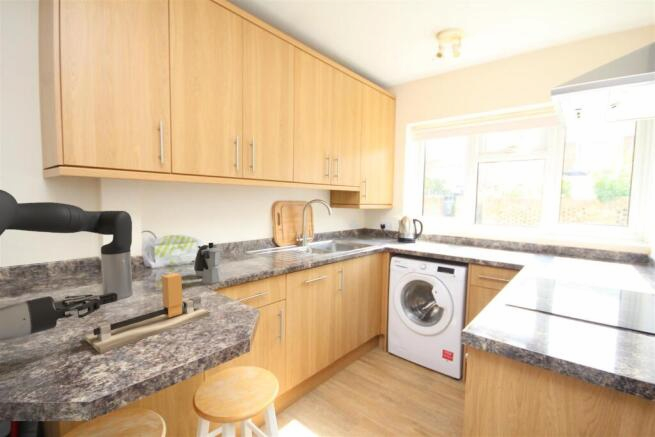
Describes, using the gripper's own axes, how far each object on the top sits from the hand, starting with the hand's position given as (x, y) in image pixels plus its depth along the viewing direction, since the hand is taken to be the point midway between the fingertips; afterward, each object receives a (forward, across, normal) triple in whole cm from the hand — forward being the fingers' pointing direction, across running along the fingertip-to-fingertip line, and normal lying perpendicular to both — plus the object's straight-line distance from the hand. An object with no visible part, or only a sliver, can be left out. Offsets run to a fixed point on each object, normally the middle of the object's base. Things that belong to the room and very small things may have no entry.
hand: (116, 296), depth 79 cm
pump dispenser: (+50, +41, +12) cm, 65 cm away
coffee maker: (+45, +28, +12) cm, 54 cm away
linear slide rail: (+9, 0, +12) cm, 14 cm away
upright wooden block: (+15, 0, +10) cm, 17 cm away
